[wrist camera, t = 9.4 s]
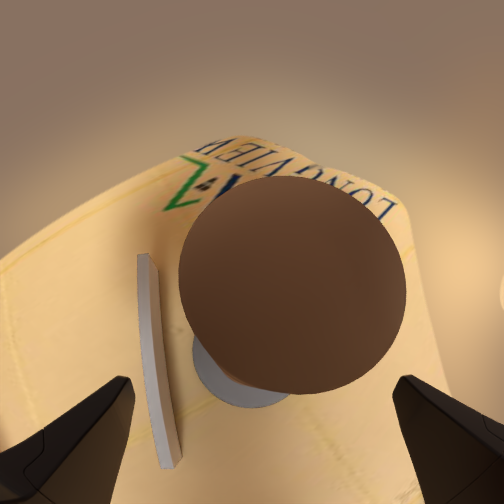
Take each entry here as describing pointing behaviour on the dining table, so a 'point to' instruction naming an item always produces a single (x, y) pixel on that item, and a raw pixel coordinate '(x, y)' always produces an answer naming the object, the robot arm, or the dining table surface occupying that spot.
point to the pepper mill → (292, 285)
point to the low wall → (156, 364)
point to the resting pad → (229, 383)
